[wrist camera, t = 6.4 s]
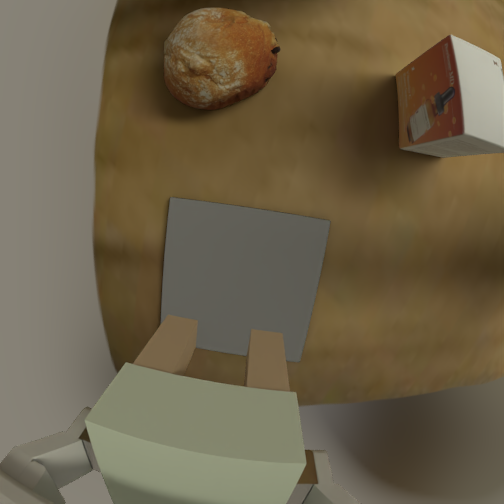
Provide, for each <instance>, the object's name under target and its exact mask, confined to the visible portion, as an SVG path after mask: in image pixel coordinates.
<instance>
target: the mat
mask: <svg viewBox="0 0 504 504" xmlns="http://www.w3.org/2000/svg"><path fill="white" fill-rule="evenodd" d="M329 227H330V221H329V220H324V219H319V218H313V217H307V216H301V215H295V214H289V213H282V212H276V211H270V210H263V209H257V208H250V207H243V206H236V205H229V204H222V203H214V202H207V201H199V200H191V199H183V198H175V197H170V204H169V213H168V223H167V233H166V244H165V255H164V269H163V284H162V304H161V324H162V322H163V321H164V320H165V318H166V317H167V315H173V316H178V317H183V318H188V319H194V320H198V325H197V337H196V347H195V348H201V349H206V350H212V351H218V352H224V353H230V354H237V355H244V356H247V351H248V345H249V340H250V334H251V329H255V330H262V331H270V332H277V333H282V334H283V341H284V349H285V356H286V361H292V362H300V359H301V355H302V351H303V348H304V344H305V340H306V336H307V332H308V327H309V323H310V319H311V315H312V310H313V306H314V302H315V297H316V293H317V288H318V283H319V279H320V274H321V269H322V264H323V259H324V254H325V249H326V243H327V238H328V233H329Z"/></svg>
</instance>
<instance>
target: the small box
mask: <svg viewBox="0 0 504 504" xmlns="http://www.w3.org/2000/svg"><path fill="white" fill-rule="evenodd" d="M396 83H397V92H398V111H399V148H400V149H403V150H408V151H413V152H418V153H423V154H428V155H433V156H438V157H442V158H446V157H456V156H467V155H478V154H490V153H504V78H503V72H502V65H501V60H500V59H499V58H498V57H496V56H494V55H492V54H490V53H488V52H487V51H485V50H483V49H481V48H479V47H477V46H475V45H473V44H470V43H468V42H466V41H464V40H462V39H460V38H457V37H455V36H452V35H449V36H447V37H446V38H444V39H443V40H441V41H440V42H438V43H437V44H436V45H434V46H433V47H432V48H430V49H429V50H427V51H426V52H425V53H423V54H422V55H421V56H419V57H418V58H416V59H415V60H414V61H412V62H411V63H410V64H408V65H407V66H406V67H404V68H403V69H402V70H401V71H399V72H398V73H397V74H396Z"/></svg>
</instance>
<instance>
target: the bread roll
mask: <svg viewBox="0 0 504 504" xmlns="http://www.w3.org/2000/svg"><path fill="white" fill-rule="evenodd" d="M270 28H271V26H270V25H269V23H267V22H265V21H262V20H257V19H254V18H252V17H251V16H249V15H246V14H245V13H244V12H242V11H238V10H237V11H236V10H232V9H226V8H202V9H199V10H196V11H193V12H190V13H188V14H187V15H185V16H184V17H183V18H182V19H181V20H180V21H179V22H178V23H177V25H176V26H175V27H174V29H173V31H172V32H171V33H170V35H169V36H168V38H167V39H166V41H165V42H164V53H165V55H164V80H165V84H166V86H167V88H168V90H169V91H170V93H171V94H172V95H173V96H174V97H175V98H176V99H177V100H179V101H180V102H181V103H183V104H185V105H188V106H190V107H193V108H197V109H205V110H216V109H220V108H223V107H226V106H228V105H232V104H233V103H235V102H238V101H241V100H243V99H245V98H247V97H249V96H251V95H253V94H255V93H257V92H258V91H259V90H260V89H262V88H263V87H265V85H266V84H267V83H268V81H269V79H270V78H271V77H272V75H273V74H274V73H275V71H276V64H277V52H279V51H280V46H279V45H278V43H277V39H276V38H275V36H274V32H271V31H270Z"/></svg>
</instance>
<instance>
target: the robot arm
mask: <svg viewBox="0 0 504 504" xmlns="http://www.w3.org/2000/svg"><path fill="white" fill-rule="evenodd" d="M91 410H92V409H91V408H89V407H86V408H84V409H83V410H82V411H81V413H80V414H79V416H78V417H77V418H76V419H75V421H74V422H73V423H72V425H71V426H70V427H69V429H68V430H67V432H66V433H64V432H59V433H56V434H53V435H51V436H47V437H44V438H41V439H39V440H35V441H32V442H29V443H25V444H22V445H19V446H15V447H13V449H12V450H11V451H10V452H9V453H8V455H7V456H6V457H5V458H4V460H3V461H2V462H1V463H0V504H65V500H64V498H63V496H62V495H61V493H60V492H59V490H58V489H59V488H61V487H63V486H65V485H67V484H69V483H71V482H73V481H75V480H76V479H78V478H80V477H81V476H84V475H85V474H87V473H89V472H91V471H92V469H93V470H96V471H98V472H101V471H100V468H99V465H98V462H97V460H96V457H95V454H94V451H93V447H92V444H91V441H90V438H89V434H88V431H87V427H86V424H85V420H84V419H85V418H86V417H87V415H88V414H89V412H90V411H91ZM305 456H306V463H307V464H306V466H305V468H304V470H303V472H302V474H301V476H300V478H299V480H298V482H297V484H296V486H295V488H294V490H293V492H292V494H291V496H290V497H289V499H288V501H287V503H286V504H361V503H360V502H359V501H358V500H356V499H355V498H354V497H353V496H352V495H350V494H349V493H348V492H347V491H346V490H345V489H344V488H342V487H341V486H340V485H339V484H334V482H333V477H332V472H331V467H330V463H329V459H328V454H327V452H326V451H325V450H305Z"/></svg>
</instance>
